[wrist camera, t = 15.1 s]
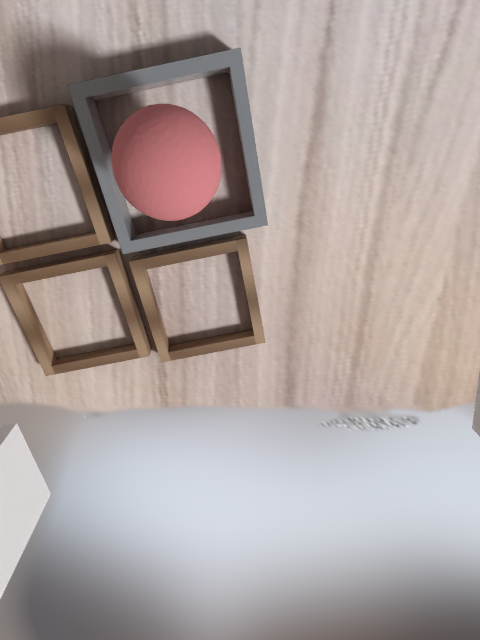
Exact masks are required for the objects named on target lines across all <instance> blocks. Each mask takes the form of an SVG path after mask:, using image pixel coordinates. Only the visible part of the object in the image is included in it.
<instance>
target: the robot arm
mask: <svg viewBox="0 0 480 640" xmlns="http://www.w3.org/2000/svg"><path fill="white" fill-rule="evenodd" d="M472 429H473V430H474V431H475V432H476V433H477V434H478V435H479V436H480V373H479V380H478V388H477V396H476V403H475V411H474V419H473V426H472ZM49 497H50V492H49V489H48V487H47V485H46V483H45V481H44V479H43V477H42V475H41V473H40V471H39V469H38V466H37V464H36V462H35V460H34V458H33V456H32V454H31V452H30V450H29V448H28V446H27V444H26V442H25V439H24V437H23V435H22V433H21V431H20V429H19V427H18V425H17V423H16V424H9V425H2V426H0V599H1V596H2V594H3V592H4V590H5V588H6V586H7V584H8V582H9V580H10V577H11V576H12V574H13V572H14V569H15V567H16V565H17V563H18V561H19V559H20V557H21V555H22V552H23V551H24V548H25V547H26V545H27V542H28V540H29V538H30V536H31V534H32V532H33V530H34V528H35V526H36V523H37V522H38V519H39V518H40V515H41V513H42V511H43V509H44V507H45V505H46V503H47V501H48V499H49Z"/></svg>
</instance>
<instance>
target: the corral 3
mask: <svg viewBox="0 0 480 640" xmlns="http://www.w3.org/2000/svg"><path fill="white" fill-rule="evenodd" d="M227 72H229V76H230V82H231V88H232V94H233V100H234V106H235V112H236V118H237V124H238V130H239V136H240V142H241V147H242V153H243V159H244V165H245V171H246V177H247V183H248V189H249V195H250V201H251V207H252V211H250V212H245V213H240V214H235V215H231V216H226V217H221V218H216V219H211V220H206V221H201V222H196V223H191V224H186V225H181V226H176V227H171V228H166V229H161V230H156V231H151V232H146V233H141V234H136V233H135V230H134V227H133V224H132V220H131V217H130V214H129V210H128V207H127V204H126V201H125V197H124V195H123V194H122V192H121V191H120V189H119V187H118V185H117V183H116V180H115V178H114V174H113V169H112V160H111V157H112V155H111V152H110V148H109V145H108V142H107V139H106V135H105V132H104V129H103V126H102V122H101V119H100V116H99V113H98V109H97V106H96V103H95V100H100V99H105V98H110V97H114V96H119V95H124V94H128V93H133V92H138V91H142V90H147V89H152V88H156V87H161V86H166V85H171V84H175V83H180V82H185V81H189V80H194V79H199V78H203V77H208V76H213V75H218V74H222V73H227ZM67 86H68V89H69V92H70V95H71V98H72V101H73V104H74V107H75V110H76V113H77V116H78V119H79V122H80V125H81V128H82V132H83V135H84V138H85V141H86V144H87V147H88V150H89V153H90V156H91V159H92V162H93V165H94V168H95V171H96V174H97V177H98V180H99V183H100V186H101V189H102V192H103V195H104V198H105V201H106V205H107V208H108V211H109V214H110V217H111V220H112V223H113V226H114V229H115V232H116V235H117V238H118V241H119V244H120V247H121V250H122V253H123V254H127V253H132V252H137V251H142V250H147V249H152V248H157V247H162V246H167V245H172V244H177V243H182V242H187V241H192V240H197V239H201V238H206V237H211V236H216V235H221V234H226V233H231V232H236V231H241V230H246V229H251V228H256V227H261V226H266V225H268V222H267V216H266V209H265V203H264V196H263V190H262V183H261V177H260V170H259V164H258V157H257V151H256V144H255V138H254V131H253V125H252V118H251V112H250V105H249V99H248V92H247V86H246V79H245V73H244V67H243V60H242V54H241V48H236V49H232V50H227V51H222V52H218V53H213V54H209V55H204V56H199V57H195V58H190V59H185V60H181V61H176V62H171V63H167V64H162V65H157V66H153V67H148V68H143V69H139V70H134V71H129V72H125V73H120V74H115V75H111V76H106V77H101V78H97V79H92V80H87V81H83V82H78V83H73V84H69V85H67Z"/></svg>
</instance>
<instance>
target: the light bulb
mask: <svg viewBox="0 0 480 640" xmlns="http://www.w3.org/2000/svg"><path fill="white" fill-rule="evenodd" d="M111 160H112V169H113V174H114V178H115V180H116V183H117V185H118V187H119V189H120V191H121V192H122V194H123V195H124V197H125V198H126V199H127V200H128V202H129V203H130V204H131V205H132V206H134V207H135V208H136V209H137V210H139V211H140V212H142V213H144V214H145V215H147V216H150V217H152V218H155V219H159V220H165V221H177V220H182V219H185V218H188V217H191V216H193V215H195V214H197V213H198V212H200V211H201V210H202V209H203V208H204V207H206V206H207V204H208V203H209V202H210V201H211V199H212V198H213V196H214V195H215V193H216V191H217V188H218V185H219V182H220V178H221V171H222V162H221V155H220V150H219V147H218V144H217V142H216V139H215V137H214V135H213V133H212V132H211V130H210V129H209V128H208V126H207V125H206V124H205V123H204V122H203V121H202V120H201V119H200V118H199V117H198V116H196V115H195V114H194V113H192V112H191V111H189V110H187V109H185V108H182V107H179V106H176V105H171V104H154V105H149V106H146V107H144V108H141V109H139V110H137V111H136V112H134V113H133V114H132V115H130V116H129V117H128V118H127V119H126V120H125V122H124V123H123V124H122V125H121V127H120V128H119V130H118V132H117V134H116V137H115V139H114V143H113V147H112V157H111Z"/></svg>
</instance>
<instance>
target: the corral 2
mask: <svg viewBox="0 0 480 640" xmlns="http://www.w3.org/2000/svg"><path fill="white" fill-rule="evenodd" d="M105 266H108V269H109V272H110V275H111V277H112V280H113V283H114V286H115V289H116V292H117V294H118V297H119V300H120V303H121V306H122V309H123V312H124V314H125V317H126V320H127V323H128V326H129V329H130V331H131V334H132V337H133V340H134V343H135V344H130V345H124V346H119V347H114V348H109V349H104V350H99V351H93V352H88V353H83V354H78V355H73V356H68V357H63V358H56V355H55V353H54V351H53V349H52V347H51V345H50V342H49V340H48V338H47V336H46V334H45V332H44V330H43V327H42V325H41V323H40V321H39V319H38V317H37V314H36V312H35V310H34V308H33V306H32V304H31V301H30V299H29V297H28V295H27V293H26V291H25V288H24V286H23V284H22V283H25V282H30V281H35V280H40V279H45V278H50V277H55V276H60V275H65V274H70V273H75V272H80V271H85V270H90V269H95V268H100V267H105ZM0 283H1V285H2V287H3V289H4V291H5V293H6V295H7V297H8V299H9V301H10V303H11V306H12V308H13V310H14V312H15V314H16V316H17V318H18V320H19V322H20V324H21V326H22V328H23V330H24V332H25V334H26V336H27V338H28V340H29V342H30V344H31V346H32V349H33V351H34V353H35V355H36V357H37V359H38V361H39V363H40V365H41V367H42V369H43V371H44V373H45V375H46V376H48V375H54V374H59V373H64V372H69V371H74V370H80V369H85V368H90V367H95V366H100V365H105V364H111V363H116V362H121V361H126V360H131V359H137V358H142V357H147V356H149V355H150V352H151V346H150V343H149V340H148V337H147V334H146V331H145V328H144V325H143V322H142V319H141V316H140V313H139V310H138V307H137V304H136V301H135V298H134V295H133V292H132V289H131V286H130V283H129V280H128V277H127V274H126V271H125V268H124V265H123V262H122V259H121V256H120V252H119V249H117V250H112V251H107V252H102V253H97V254H92V255H87V256H82V257H77V258H72V259H67V260H62V261H57V262H52V263H47V264H42V265H37V266H32V267H28V268H23V269H18V270H13V271H8V272H5V273H3V274H2V275H0Z"/></svg>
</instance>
